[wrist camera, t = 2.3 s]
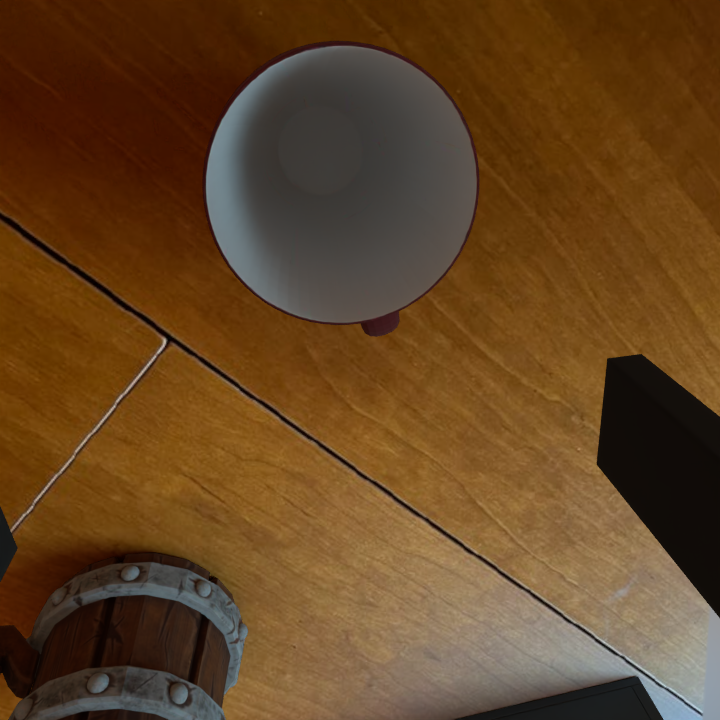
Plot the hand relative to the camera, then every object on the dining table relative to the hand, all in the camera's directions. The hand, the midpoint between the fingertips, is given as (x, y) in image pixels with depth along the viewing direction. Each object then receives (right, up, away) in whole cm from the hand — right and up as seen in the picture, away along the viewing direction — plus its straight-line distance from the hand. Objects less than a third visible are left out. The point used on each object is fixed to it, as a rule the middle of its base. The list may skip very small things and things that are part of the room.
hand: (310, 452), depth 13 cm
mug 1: (-13, -13, +24) cm, 30 cm away
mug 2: (0, +10, +14) cm, 18 cm away
